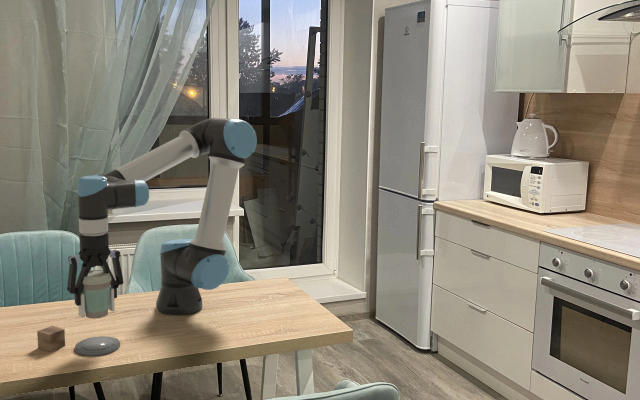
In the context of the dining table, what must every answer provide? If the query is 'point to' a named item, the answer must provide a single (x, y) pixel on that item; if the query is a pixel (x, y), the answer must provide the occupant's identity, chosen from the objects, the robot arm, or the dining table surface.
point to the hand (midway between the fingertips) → (96, 312)
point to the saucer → (97, 346)
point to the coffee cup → (96, 293)
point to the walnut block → (51, 338)
